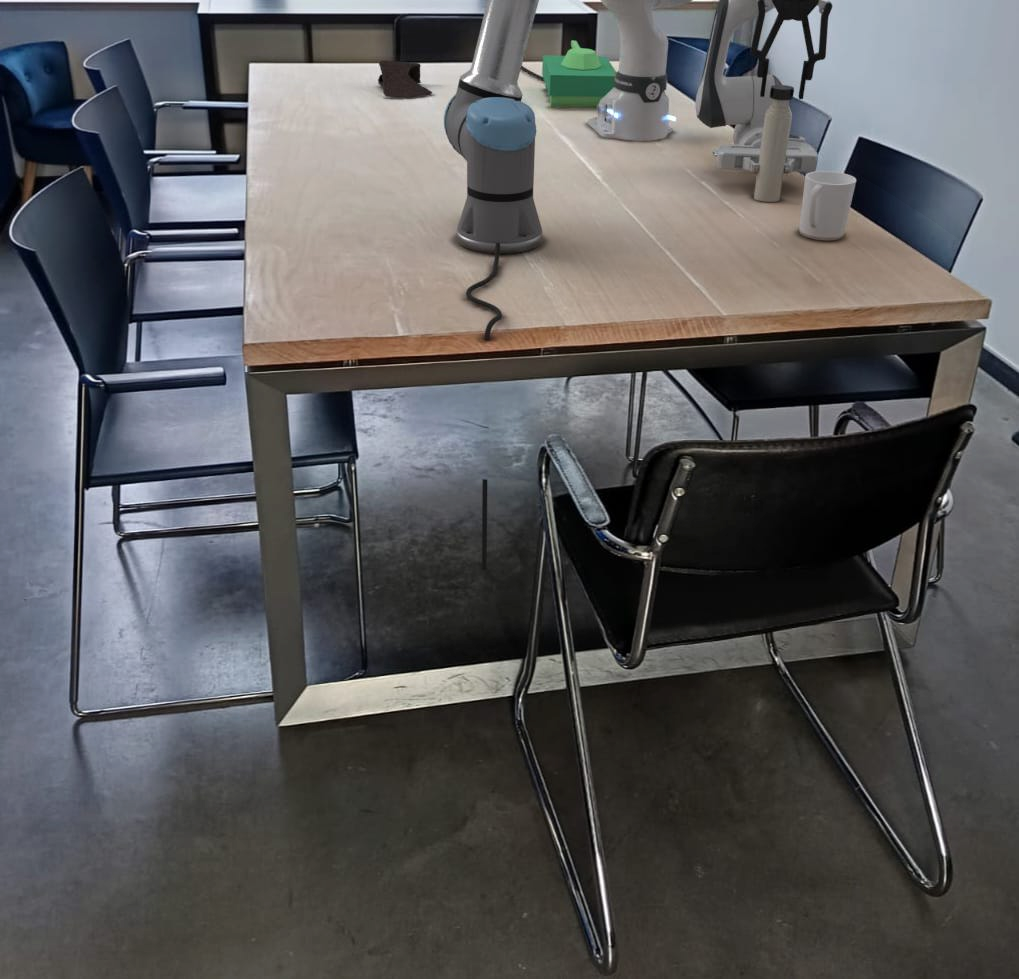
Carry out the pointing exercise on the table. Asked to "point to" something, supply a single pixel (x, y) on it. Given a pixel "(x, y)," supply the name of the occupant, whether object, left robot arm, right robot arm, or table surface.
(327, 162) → the table surface
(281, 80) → the table surface
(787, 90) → the cap
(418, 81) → the axe head
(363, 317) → the table surface
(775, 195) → the bottle
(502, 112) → the left robot arm
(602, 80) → the toy tank
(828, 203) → the mug
